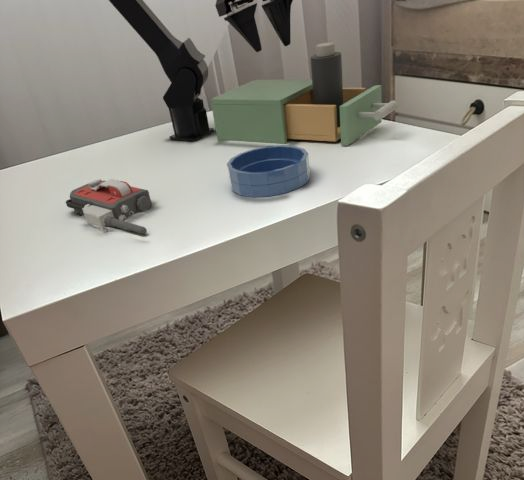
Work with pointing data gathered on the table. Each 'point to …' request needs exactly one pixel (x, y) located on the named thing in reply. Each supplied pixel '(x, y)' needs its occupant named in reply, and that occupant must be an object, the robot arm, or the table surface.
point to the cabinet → (256, 110)
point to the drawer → (325, 116)
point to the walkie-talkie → (110, 203)
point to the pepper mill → (327, 77)
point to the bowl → (269, 170)
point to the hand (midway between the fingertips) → (272, 48)
